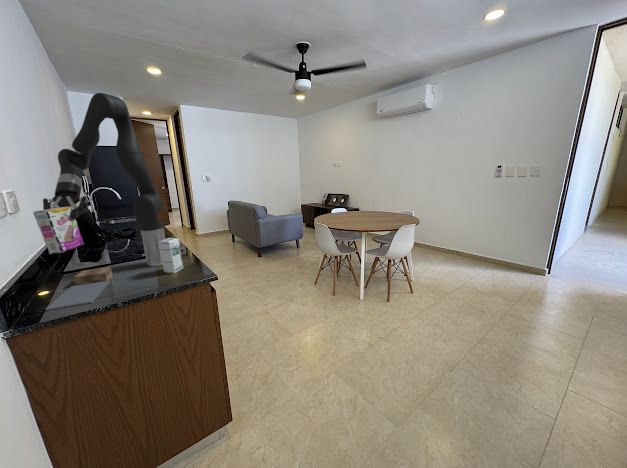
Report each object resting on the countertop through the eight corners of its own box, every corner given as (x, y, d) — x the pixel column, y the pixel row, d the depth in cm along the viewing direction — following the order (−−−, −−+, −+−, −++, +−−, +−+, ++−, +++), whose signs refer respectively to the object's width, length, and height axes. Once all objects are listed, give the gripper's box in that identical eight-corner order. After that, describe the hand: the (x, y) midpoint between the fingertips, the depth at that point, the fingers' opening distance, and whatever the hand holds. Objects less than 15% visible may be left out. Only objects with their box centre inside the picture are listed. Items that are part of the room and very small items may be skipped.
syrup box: (175, 273, 110) (169, 241, 107) (163, 272, 111) (157, 240, 108) (184, 268, 116) (179, 237, 112) (172, 267, 117) (167, 237, 113)
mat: (109, 281, 103) (109, 280, 103) (91, 303, 86) (91, 301, 86) (72, 287, 98) (71, 286, 98) (45, 310, 82) (45, 309, 82)
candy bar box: (63, 252, 95) (46, 210, 90) (49, 254, 94) (31, 211, 90) (85, 244, 105) (71, 205, 101) (73, 245, 105) (58, 207, 101)
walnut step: (112, 275, 109) (110, 266, 108) (107, 281, 103) (105, 272, 102) (83, 279, 105) (81, 270, 104) (76, 286, 99) (73, 277, 98)
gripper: (41, 181, 101) (32, 215, 93) (86, 180, 106) (81, 212, 98) (52, 194, 107) (44, 226, 99) (94, 191, 112) (90, 222, 105)
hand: (62, 219), depth 99 cm, fingers closed on candy bar box, 5 cm apart
